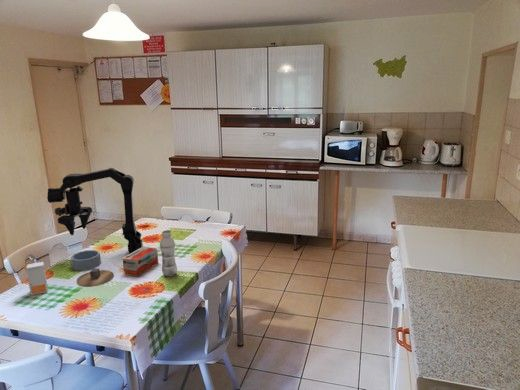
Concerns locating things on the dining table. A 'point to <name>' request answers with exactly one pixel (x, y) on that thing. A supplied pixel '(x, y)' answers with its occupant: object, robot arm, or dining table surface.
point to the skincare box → (37, 278)
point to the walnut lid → (95, 278)
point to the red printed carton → (140, 261)
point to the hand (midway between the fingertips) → (78, 231)
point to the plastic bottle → (168, 254)
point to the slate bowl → (86, 260)
